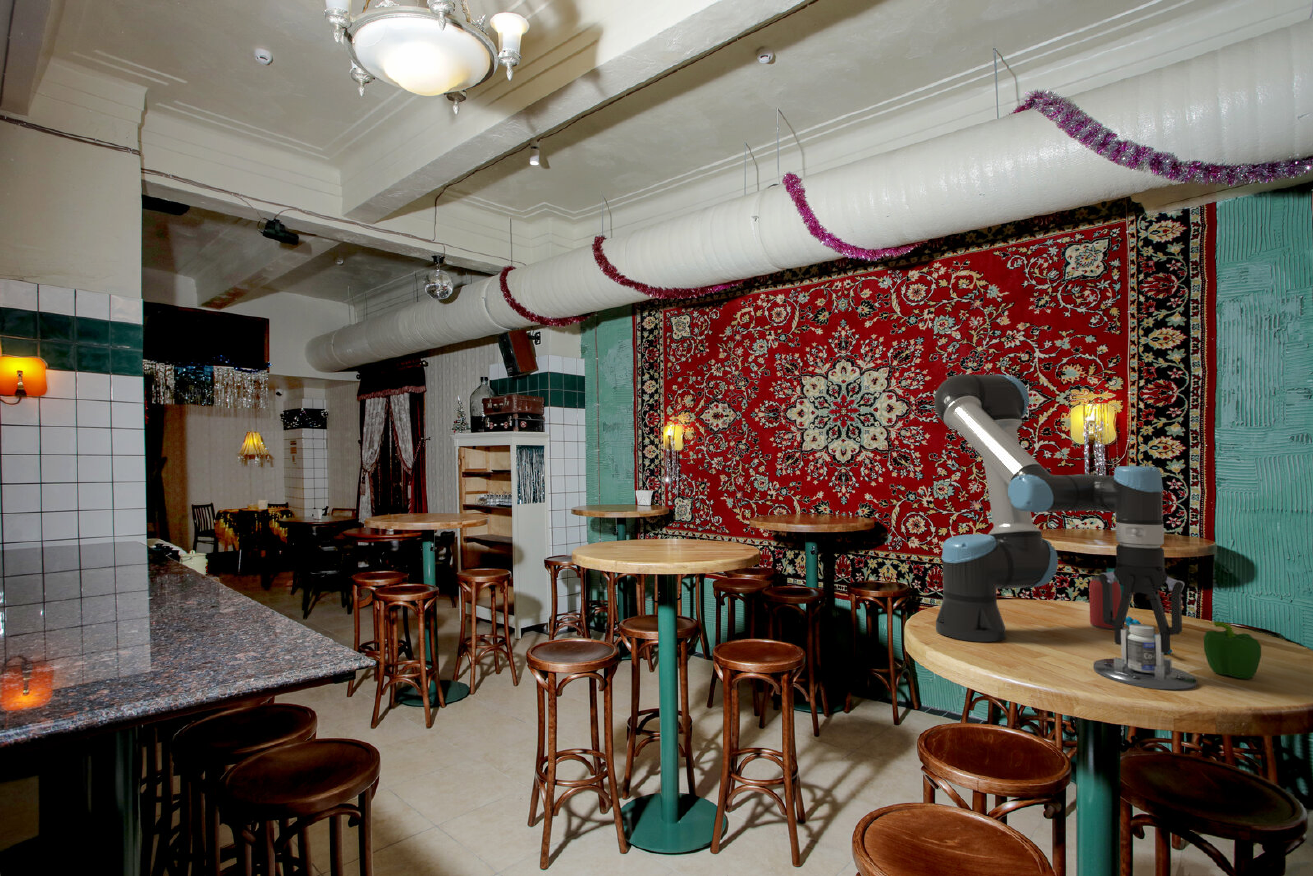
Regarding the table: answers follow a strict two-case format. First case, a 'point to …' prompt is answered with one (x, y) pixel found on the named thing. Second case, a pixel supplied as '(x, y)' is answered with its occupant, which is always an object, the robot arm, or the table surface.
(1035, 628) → the table surface
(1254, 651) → the bell pepper
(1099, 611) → the beer can
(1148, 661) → the pill bottle
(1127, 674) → the hub
